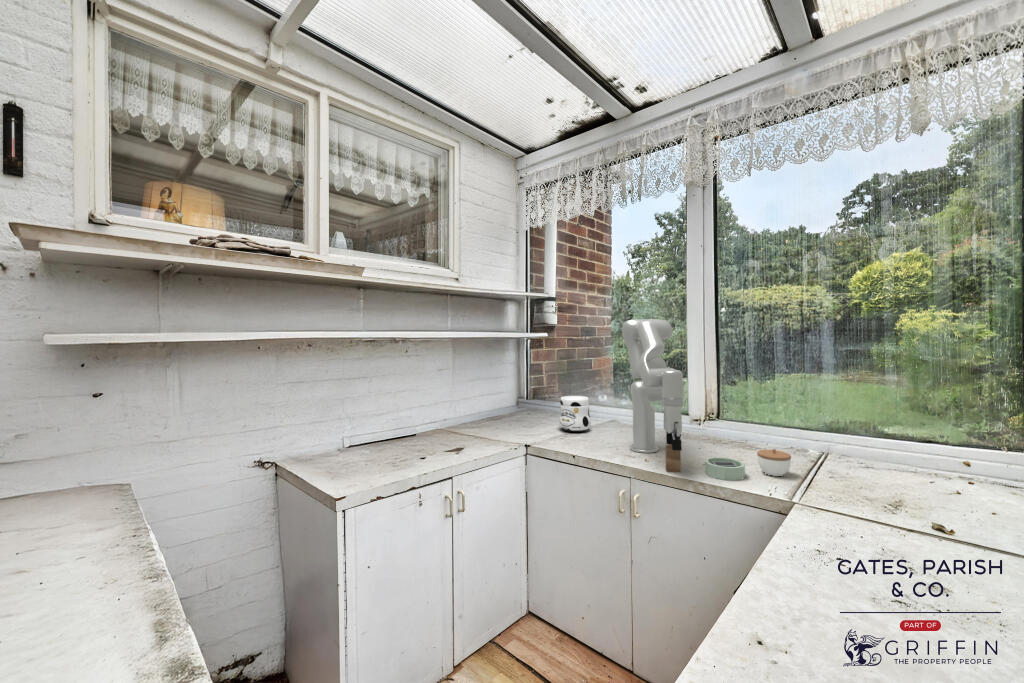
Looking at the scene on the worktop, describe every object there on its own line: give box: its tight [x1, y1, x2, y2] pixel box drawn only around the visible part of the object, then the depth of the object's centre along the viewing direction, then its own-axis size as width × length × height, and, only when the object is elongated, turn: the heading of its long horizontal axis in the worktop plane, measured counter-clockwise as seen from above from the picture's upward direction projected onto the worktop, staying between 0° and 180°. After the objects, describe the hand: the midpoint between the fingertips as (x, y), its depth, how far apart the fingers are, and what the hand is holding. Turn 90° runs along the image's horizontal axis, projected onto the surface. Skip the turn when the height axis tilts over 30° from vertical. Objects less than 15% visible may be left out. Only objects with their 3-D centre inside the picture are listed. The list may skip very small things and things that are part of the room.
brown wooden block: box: [664, 443, 682, 473], centre depth 164 cm, size 2×5×10 cm, turn 82°
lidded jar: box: [756, 448, 792, 477], centre depth 159 cm, size 11×11×9 cm
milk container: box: [558, 395, 592, 433], centre depth 234 cm, size 17×17×18 cm
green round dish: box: [704, 456, 746, 481], centre depth 159 cm, size 13×13×4 cm
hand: (673, 447), depth 163 cm, fingers open, 9 cm apart
